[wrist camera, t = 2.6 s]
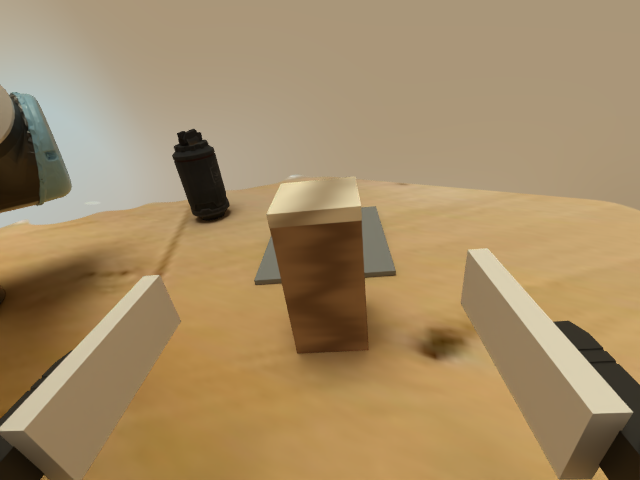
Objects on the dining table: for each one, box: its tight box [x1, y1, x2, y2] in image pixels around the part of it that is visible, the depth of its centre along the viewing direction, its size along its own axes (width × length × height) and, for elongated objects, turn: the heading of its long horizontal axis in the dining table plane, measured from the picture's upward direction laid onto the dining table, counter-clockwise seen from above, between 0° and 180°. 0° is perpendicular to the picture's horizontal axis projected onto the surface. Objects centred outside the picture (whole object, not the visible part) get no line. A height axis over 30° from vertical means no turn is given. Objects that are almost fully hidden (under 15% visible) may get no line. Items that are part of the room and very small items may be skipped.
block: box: [266, 177, 368, 353], centre depth 25 cm, size 6×6×13 cm
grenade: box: [172, 129, 229, 220], centre depth 51 cm, size 7×7×15 cm
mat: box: [254, 206, 396, 285], centre depth 42 cm, size 16×18×1 cm
